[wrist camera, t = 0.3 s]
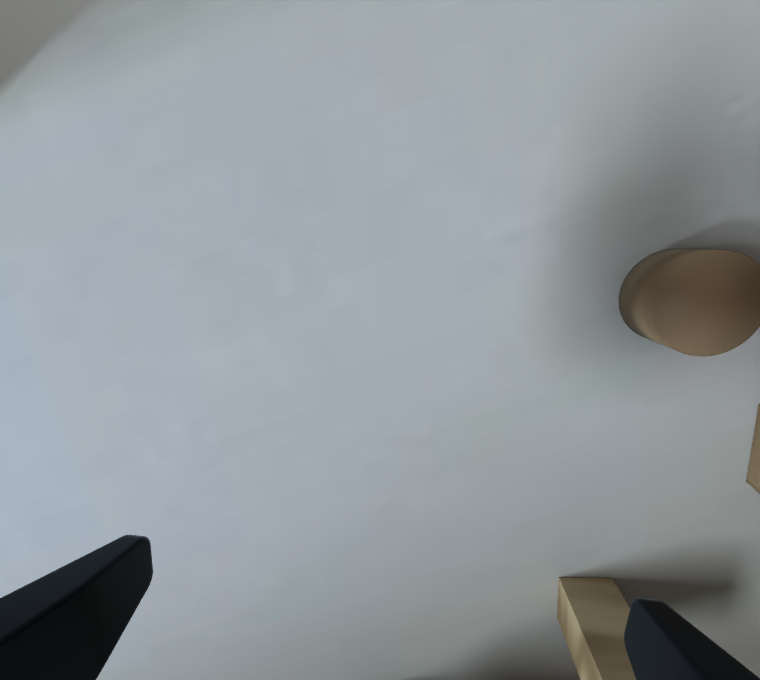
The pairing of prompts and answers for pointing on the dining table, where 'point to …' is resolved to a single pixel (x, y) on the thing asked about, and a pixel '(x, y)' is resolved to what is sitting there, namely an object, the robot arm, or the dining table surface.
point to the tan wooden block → (595, 627)
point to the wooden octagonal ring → (755, 458)
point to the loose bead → (693, 299)
